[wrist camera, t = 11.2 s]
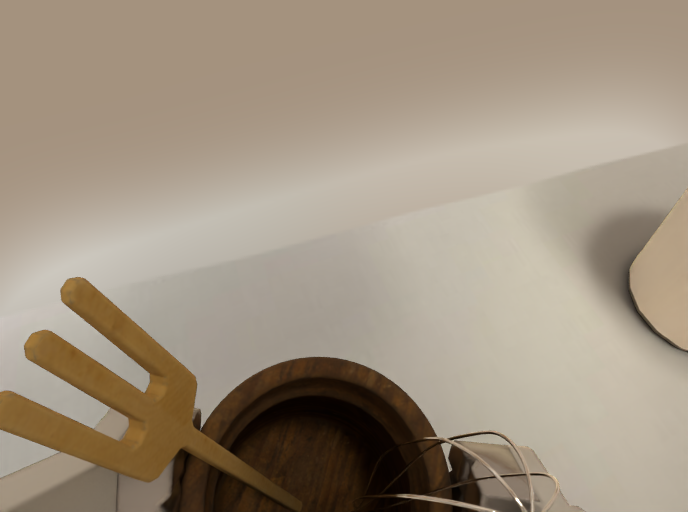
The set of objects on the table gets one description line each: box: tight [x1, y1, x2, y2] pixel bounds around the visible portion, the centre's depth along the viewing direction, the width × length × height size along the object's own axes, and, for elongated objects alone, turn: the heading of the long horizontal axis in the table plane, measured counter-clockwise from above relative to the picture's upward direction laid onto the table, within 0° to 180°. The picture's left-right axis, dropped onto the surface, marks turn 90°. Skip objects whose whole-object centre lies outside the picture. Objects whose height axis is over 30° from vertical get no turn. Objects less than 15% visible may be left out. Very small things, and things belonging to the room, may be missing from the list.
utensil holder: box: [0, 277, 560, 512], centre depth 9 cm, size 6×6×12 cm
